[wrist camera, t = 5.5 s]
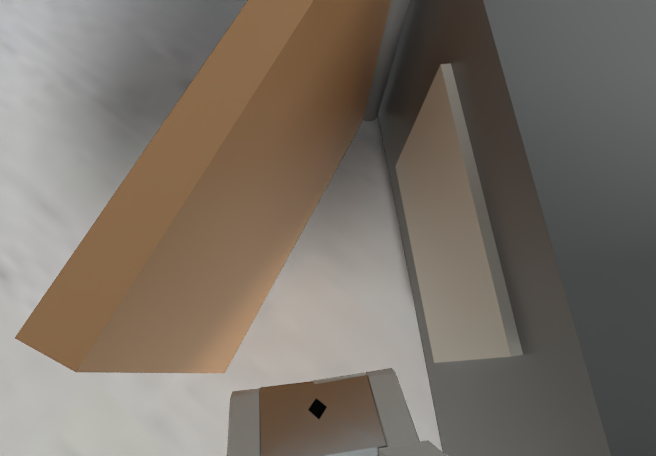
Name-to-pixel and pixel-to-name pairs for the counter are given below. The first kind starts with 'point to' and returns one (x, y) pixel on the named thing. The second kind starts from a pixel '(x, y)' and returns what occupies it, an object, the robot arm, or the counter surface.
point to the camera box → (530, 219)
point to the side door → (221, 192)
